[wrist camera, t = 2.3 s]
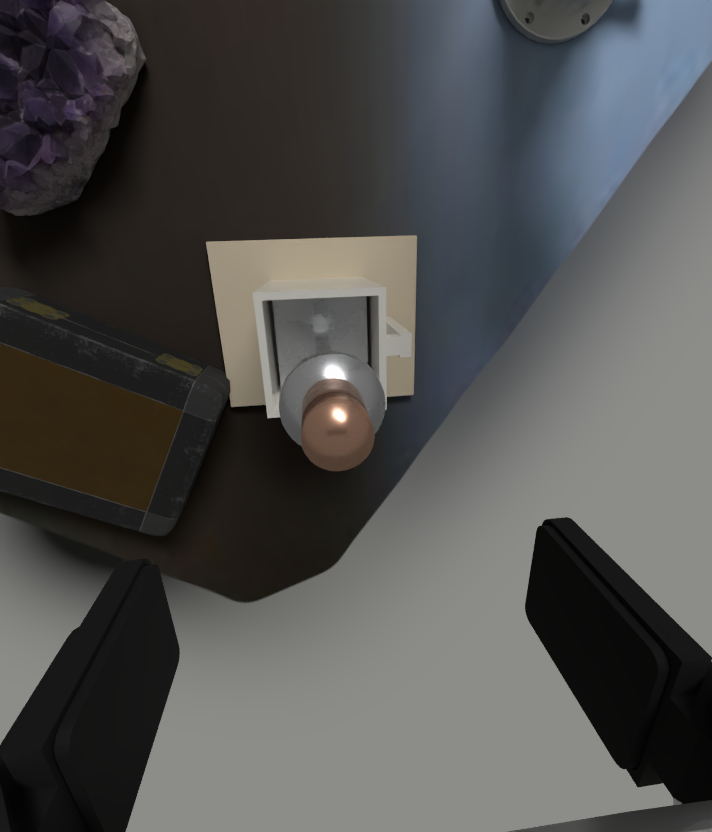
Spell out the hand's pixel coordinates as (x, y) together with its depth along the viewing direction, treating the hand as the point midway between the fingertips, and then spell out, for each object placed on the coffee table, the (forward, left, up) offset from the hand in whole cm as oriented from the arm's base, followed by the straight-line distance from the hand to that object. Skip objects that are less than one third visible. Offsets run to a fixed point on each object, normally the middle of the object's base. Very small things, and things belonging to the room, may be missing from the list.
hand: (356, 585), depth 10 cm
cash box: (+26, +9, -41) cm, 49 cm away
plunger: (0, 0, -29) cm, 29 cm away
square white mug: (0, 0, -40) cm, 40 cm away
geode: (+22, -20, -41) cm, 51 cm away
